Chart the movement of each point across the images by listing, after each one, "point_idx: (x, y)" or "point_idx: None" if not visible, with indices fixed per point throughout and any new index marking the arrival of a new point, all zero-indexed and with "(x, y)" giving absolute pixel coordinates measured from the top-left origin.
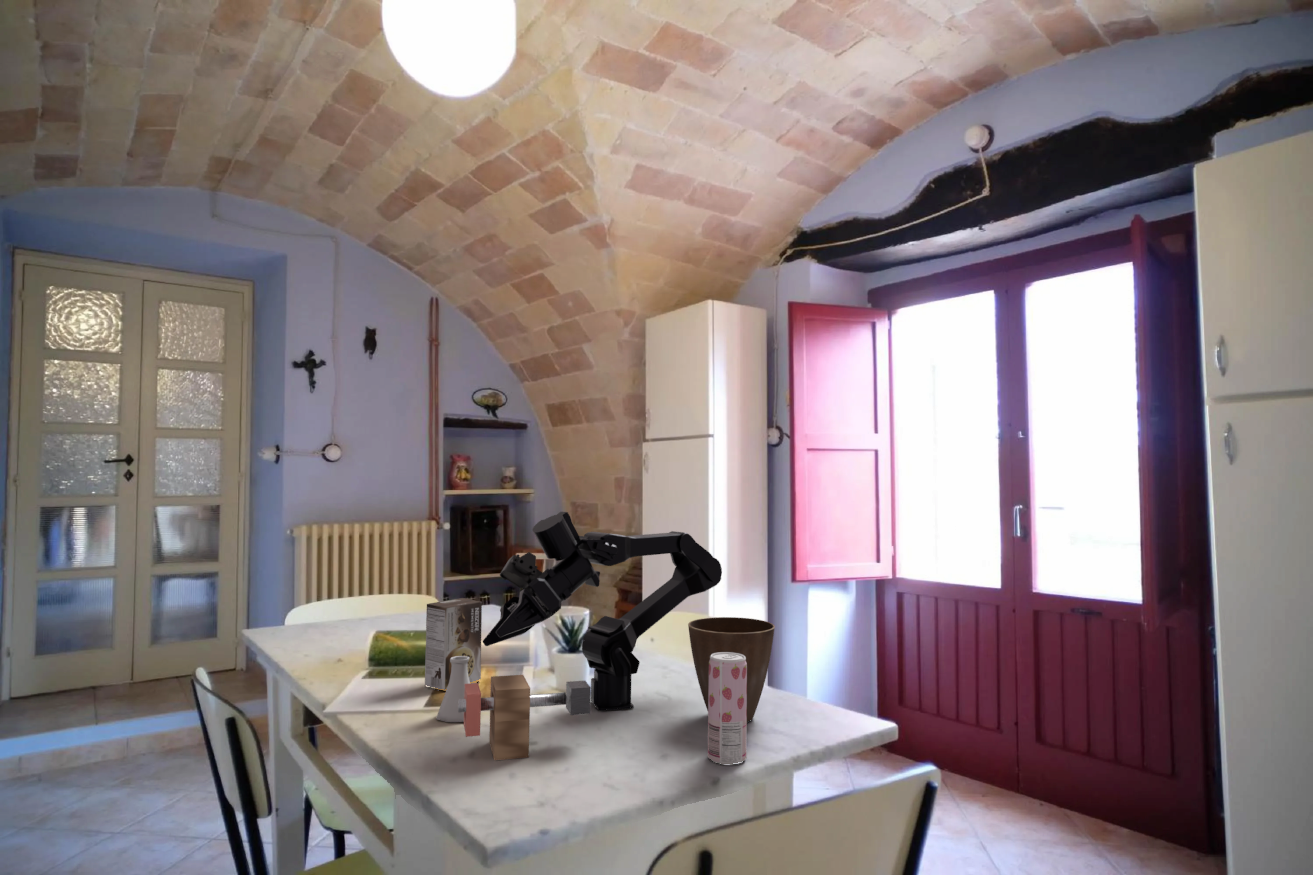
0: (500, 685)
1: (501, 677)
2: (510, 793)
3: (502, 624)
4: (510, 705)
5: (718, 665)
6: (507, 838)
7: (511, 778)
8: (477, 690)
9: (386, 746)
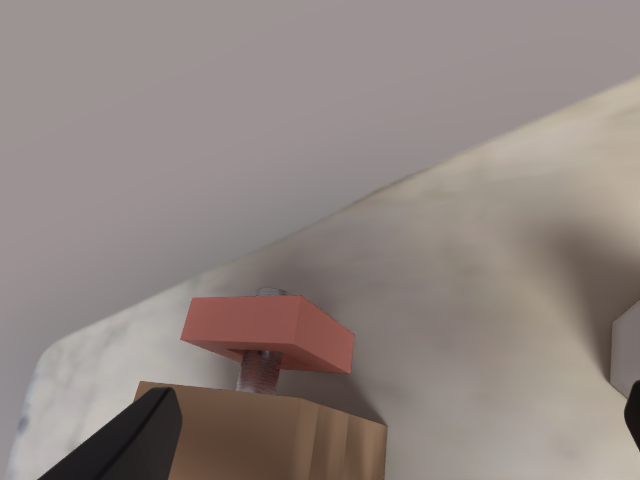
0: None
1: (269, 443)
2: (126, 406)
3: (96, 432)
4: None
5: None
6: (40, 372)
7: None
8: (214, 332)
9: (430, 189)
